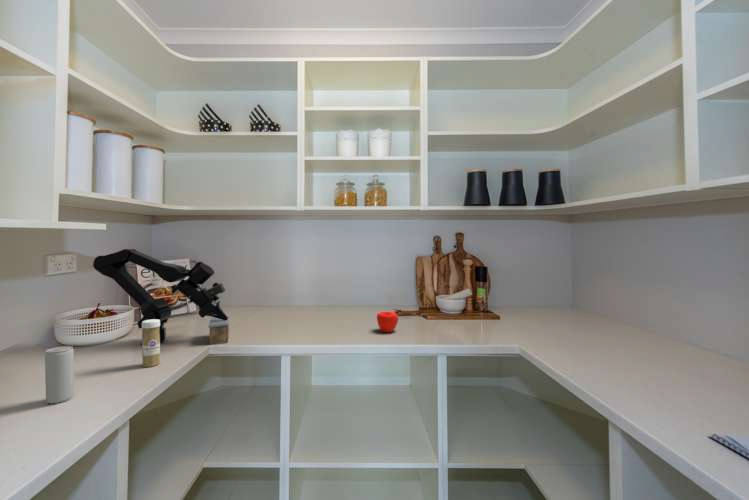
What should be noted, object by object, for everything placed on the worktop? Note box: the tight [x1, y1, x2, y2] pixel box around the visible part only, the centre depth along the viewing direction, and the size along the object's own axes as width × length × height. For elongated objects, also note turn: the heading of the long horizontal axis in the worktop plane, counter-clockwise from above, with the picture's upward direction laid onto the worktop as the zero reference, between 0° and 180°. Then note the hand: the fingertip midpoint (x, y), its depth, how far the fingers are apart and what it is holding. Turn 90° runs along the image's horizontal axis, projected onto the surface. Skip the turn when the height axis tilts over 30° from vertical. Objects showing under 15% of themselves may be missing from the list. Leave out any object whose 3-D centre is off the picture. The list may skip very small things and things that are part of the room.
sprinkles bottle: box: [141, 319, 161, 368], centre depth 97 cm, size 5×5×14 cm
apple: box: [376, 311, 399, 333], centre depth 136 cm, size 9×9×8 cm
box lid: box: [208, 315, 230, 329], centre depth 123 cm, size 6×13×1 cm, turn 22°
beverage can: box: [44, 345, 75, 404], centre depth 75 cm, size 5×5×12 cm
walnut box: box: [209, 322, 230, 345], centre depth 123 cm, size 6×12×6 cm, turn 22°
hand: (227, 319), depth 124 cm, fingers closed, pressing on box lid
